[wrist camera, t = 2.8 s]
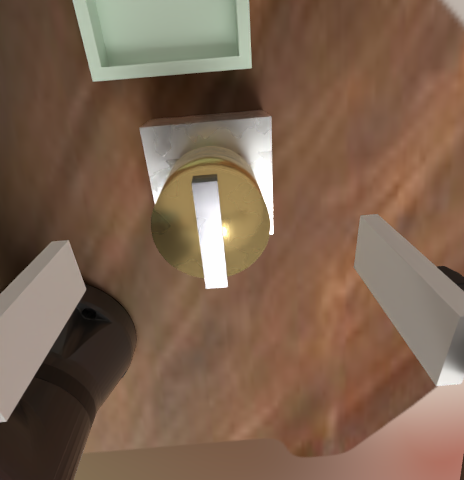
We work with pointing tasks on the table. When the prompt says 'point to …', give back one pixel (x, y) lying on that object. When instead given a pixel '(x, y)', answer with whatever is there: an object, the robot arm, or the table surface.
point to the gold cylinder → (211, 216)
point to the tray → (163, 37)
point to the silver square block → (210, 144)
